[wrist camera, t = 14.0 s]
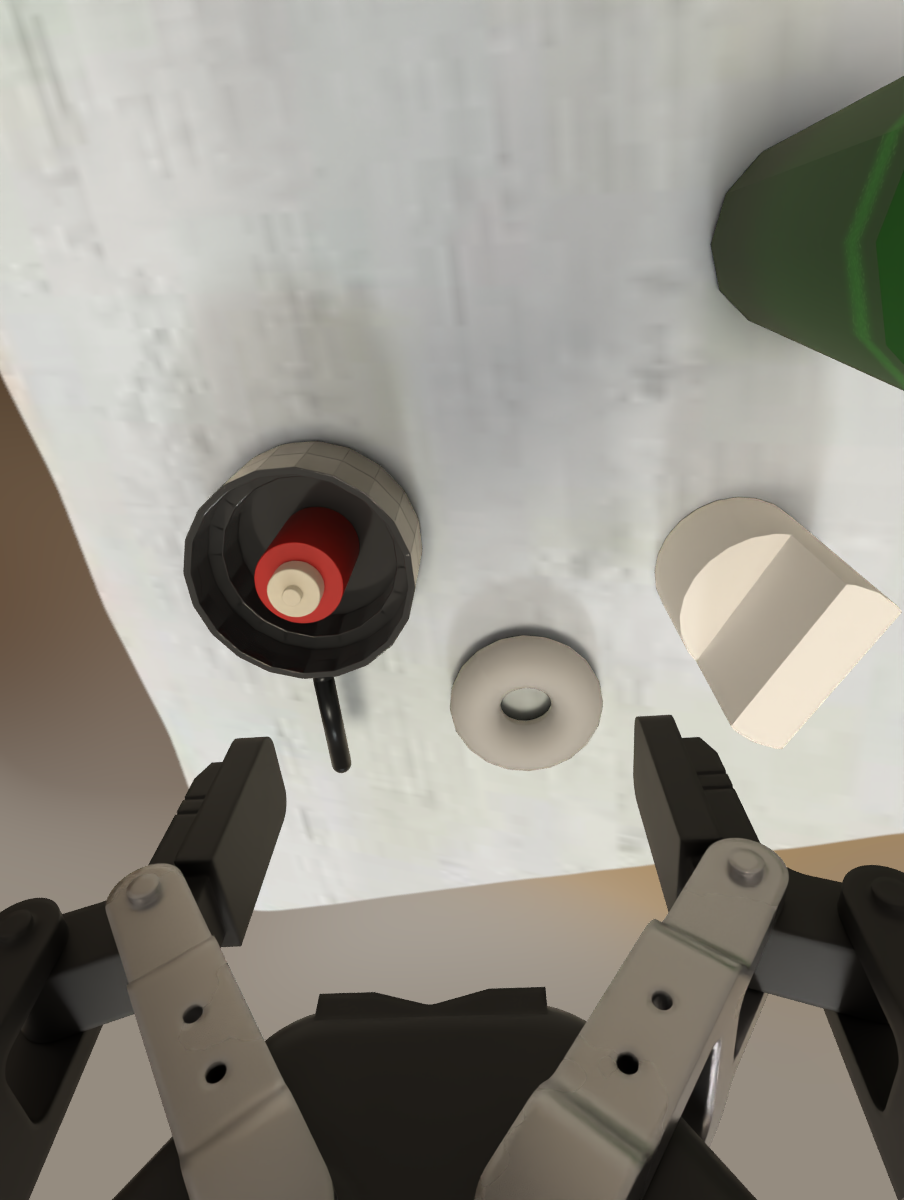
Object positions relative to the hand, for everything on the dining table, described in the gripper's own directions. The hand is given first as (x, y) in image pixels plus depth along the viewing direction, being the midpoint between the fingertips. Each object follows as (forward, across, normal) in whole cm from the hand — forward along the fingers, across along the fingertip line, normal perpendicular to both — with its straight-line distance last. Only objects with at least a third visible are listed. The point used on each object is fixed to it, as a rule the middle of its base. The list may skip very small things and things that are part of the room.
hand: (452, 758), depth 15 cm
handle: (+23, +9, +15) cm, 29 cm away
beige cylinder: (+28, -15, +9) cm, 33 cm away
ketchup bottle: (+27, +9, +5) cm, 29 cm away
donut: (+28, -2, +17) cm, 33 cm away
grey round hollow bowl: (+28, +10, +5) cm, 30 cm away
